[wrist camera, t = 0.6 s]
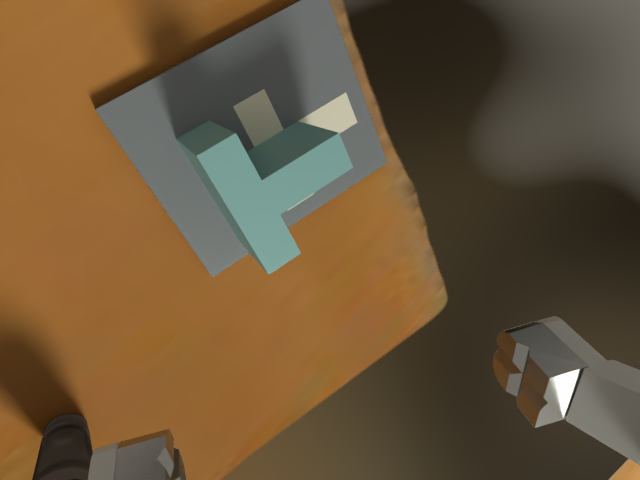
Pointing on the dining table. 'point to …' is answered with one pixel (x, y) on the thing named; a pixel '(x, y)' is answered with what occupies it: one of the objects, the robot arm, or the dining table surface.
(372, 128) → the slate board
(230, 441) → the dining table surface
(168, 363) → the dining table surface
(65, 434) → the beverage cup
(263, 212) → the tee block
